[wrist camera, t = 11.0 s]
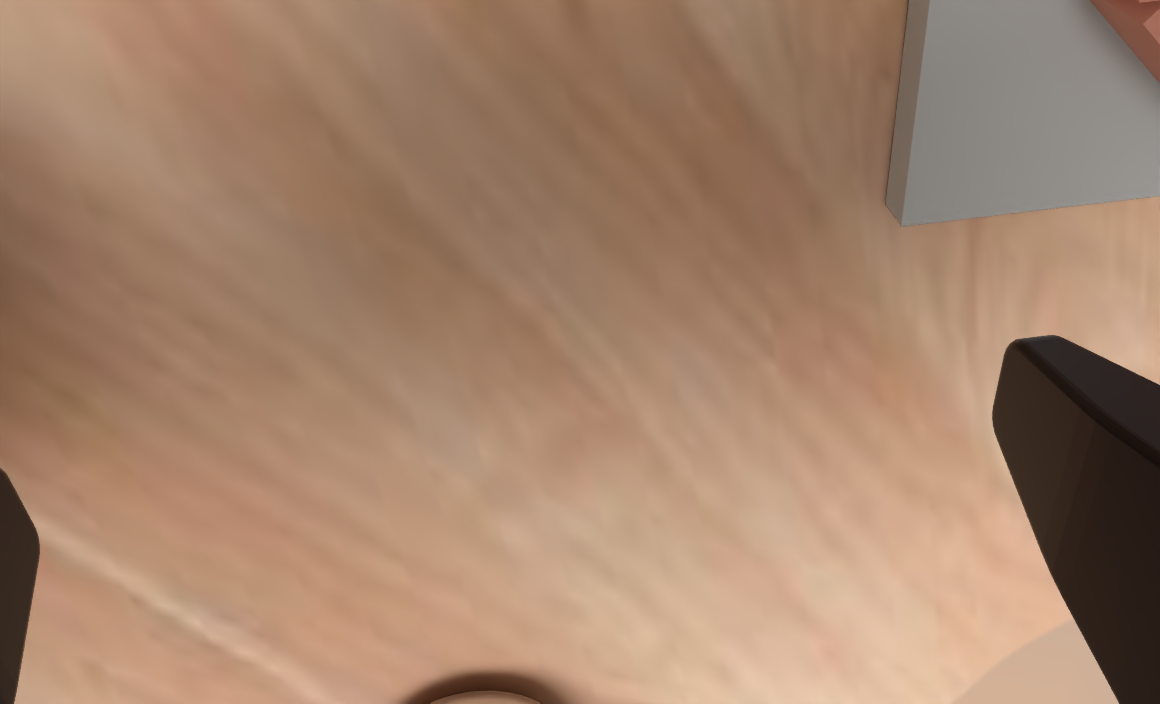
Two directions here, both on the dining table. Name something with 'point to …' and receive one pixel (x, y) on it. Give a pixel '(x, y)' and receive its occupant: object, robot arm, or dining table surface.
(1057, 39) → the band dock
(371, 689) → the dining table surface
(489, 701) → the plastic bottle
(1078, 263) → the dining table surface
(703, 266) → the dining table surface
